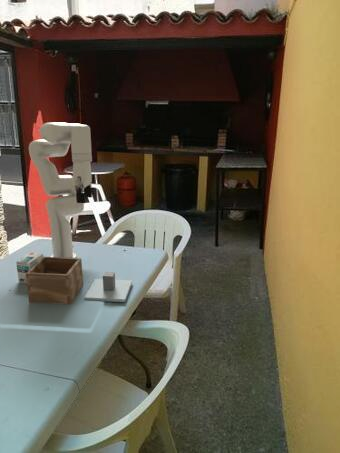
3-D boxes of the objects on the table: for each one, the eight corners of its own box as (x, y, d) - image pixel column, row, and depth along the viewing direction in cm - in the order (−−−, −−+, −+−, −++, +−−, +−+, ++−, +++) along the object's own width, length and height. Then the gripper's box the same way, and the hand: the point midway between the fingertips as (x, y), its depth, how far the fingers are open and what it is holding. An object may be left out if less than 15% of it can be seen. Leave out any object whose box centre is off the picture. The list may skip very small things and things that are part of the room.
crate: (46, 284, 149) (43, 256, 145) (83, 286, 148) (81, 258, 144) (29, 304, 134) (25, 273, 130) (70, 306, 133) (67, 275, 129)
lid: (95, 283, 152) (94, 264, 149) (132, 285, 151) (131, 266, 148) (84, 302, 136) (83, 282, 134) (125, 304, 135) (124, 284, 133)
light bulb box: (32, 286, 148) (29, 262, 144) (18, 284, 149) (15, 261, 145) (46, 275, 158) (43, 253, 154) (32, 273, 159) (29, 251, 155)
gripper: (79, 154, 145) (82, 194, 151) (64, 160, 129) (68, 205, 134) (97, 155, 145) (99, 195, 150) (84, 160, 128) (87, 205, 134)
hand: (84, 199), depth 142 cm, fingers open, 9 cm apart
